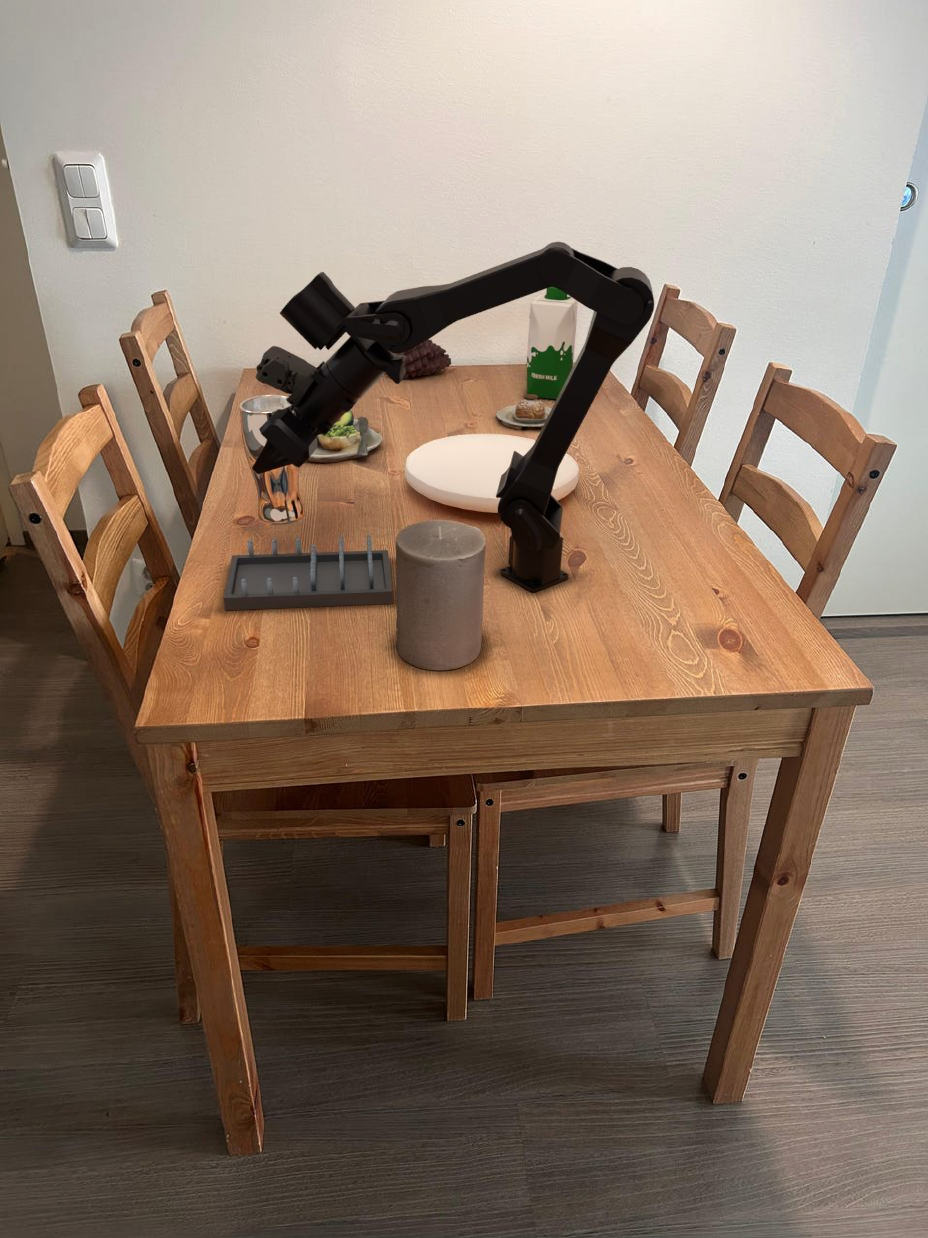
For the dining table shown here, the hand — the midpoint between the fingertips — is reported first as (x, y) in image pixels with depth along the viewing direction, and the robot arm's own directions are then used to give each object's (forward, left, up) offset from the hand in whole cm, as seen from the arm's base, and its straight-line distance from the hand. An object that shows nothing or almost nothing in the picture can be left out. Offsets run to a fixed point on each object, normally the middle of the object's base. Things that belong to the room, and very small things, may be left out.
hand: (264, 460), depth 116 cm
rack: (-10, 0, -13) cm, 17 cm away
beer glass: (-1, -1, -8) cm, 8 cm away
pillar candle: (-31, -4, -13) cm, 34 cm away
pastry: (+20, -64, -13) cm, 68 cm away
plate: (0, -38, -13) cm, 40 cm away
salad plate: (+31, -28, -13) cm, 44 cm away
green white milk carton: (+29, -78, -13) cm, 84 cm away
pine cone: (+55, -63, -13) cm, 84 cm away
